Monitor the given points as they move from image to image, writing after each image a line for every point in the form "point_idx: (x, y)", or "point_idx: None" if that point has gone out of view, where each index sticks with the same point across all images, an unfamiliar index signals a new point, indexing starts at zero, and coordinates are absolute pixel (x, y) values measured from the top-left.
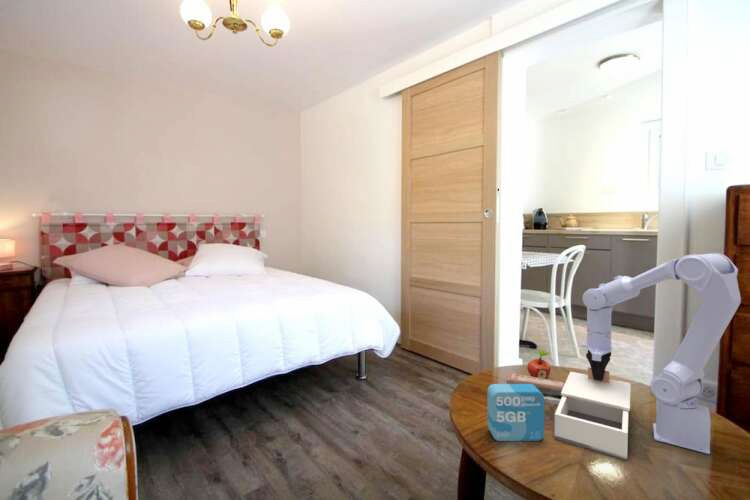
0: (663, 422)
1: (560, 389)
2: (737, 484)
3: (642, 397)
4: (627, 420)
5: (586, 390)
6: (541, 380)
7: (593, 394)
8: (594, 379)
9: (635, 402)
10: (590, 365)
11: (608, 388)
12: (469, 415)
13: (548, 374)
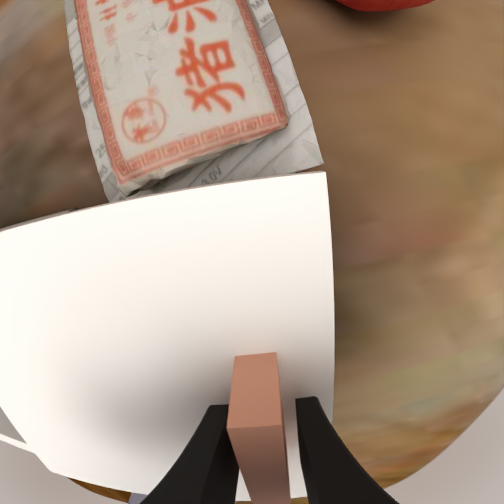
0: (131, 496)
1: (107, 155)
2: (103, 494)
3: (427, 403)
4: (10, 443)
5: (28, 363)
6: (150, 4)
7: (23, 391)
8: (209, 408)
9: (373, 404)
10: (143, 501)
11: (157, 452)
12: None
13: (365, 3)
